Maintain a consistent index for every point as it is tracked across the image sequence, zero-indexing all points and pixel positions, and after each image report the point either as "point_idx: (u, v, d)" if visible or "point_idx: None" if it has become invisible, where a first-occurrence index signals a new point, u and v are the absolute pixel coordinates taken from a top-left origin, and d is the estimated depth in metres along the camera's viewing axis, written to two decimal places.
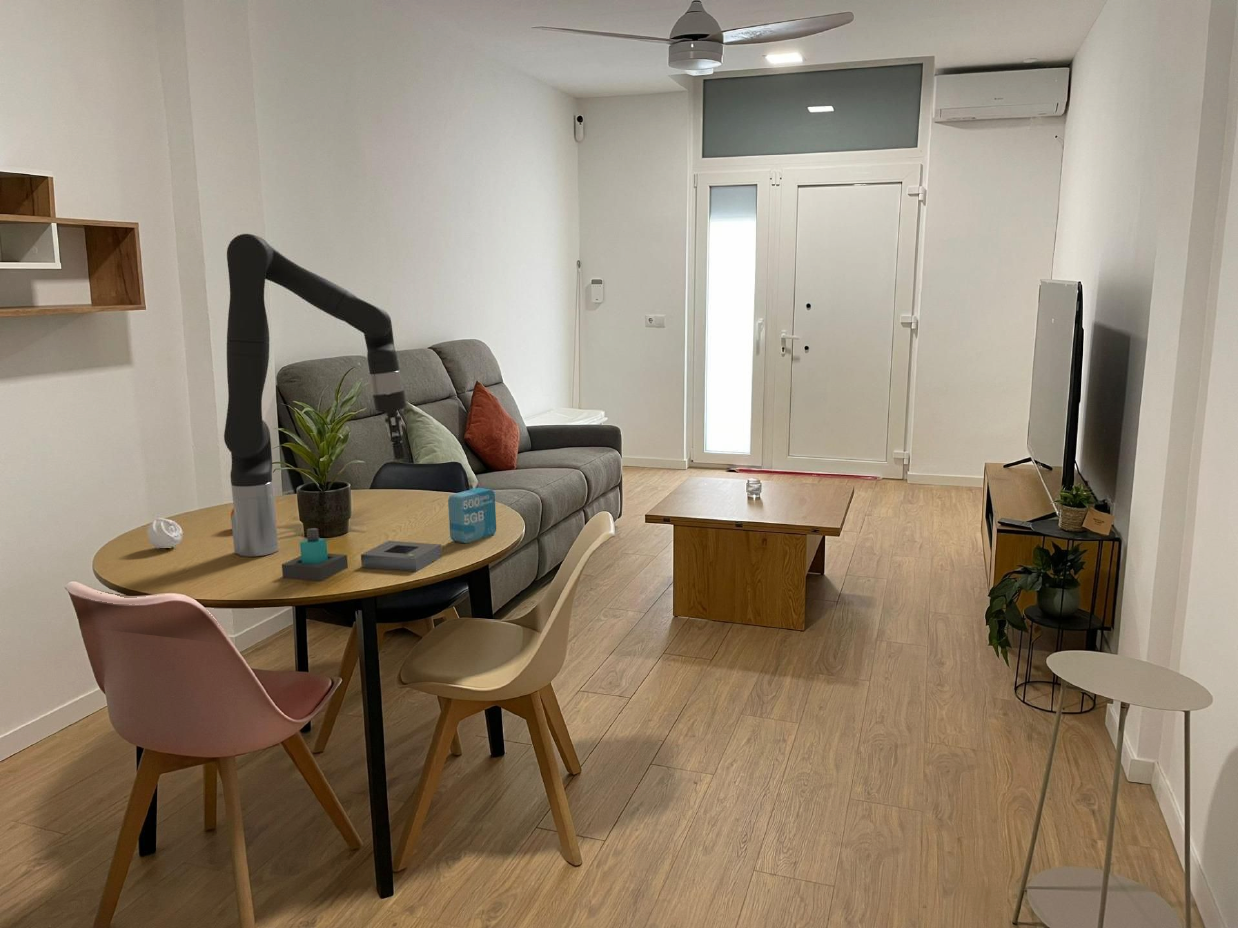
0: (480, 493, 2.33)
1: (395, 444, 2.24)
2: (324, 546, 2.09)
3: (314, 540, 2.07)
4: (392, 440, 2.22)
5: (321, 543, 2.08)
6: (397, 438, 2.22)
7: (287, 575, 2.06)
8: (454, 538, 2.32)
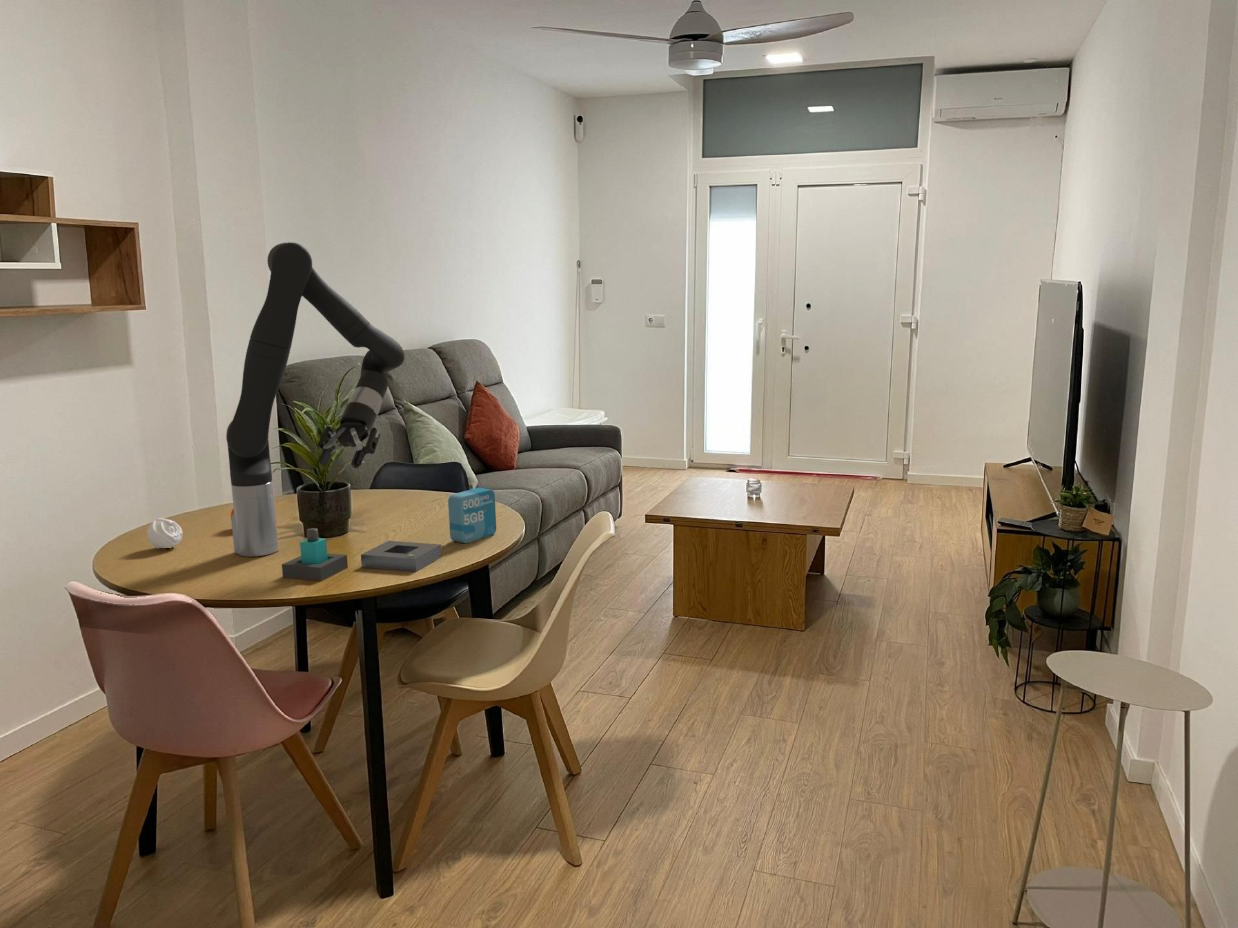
0: (480, 493, 2.33)
1: (363, 452, 2.17)
2: (324, 546, 2.09)
3: (314, 540, 2.07)
4: (370, 446, 2.16)
5: (321, 543, 2.08)
6: (372, 448, 2.17)
7: (287, 575, 2.06)
8: (454, 538, 2.32)
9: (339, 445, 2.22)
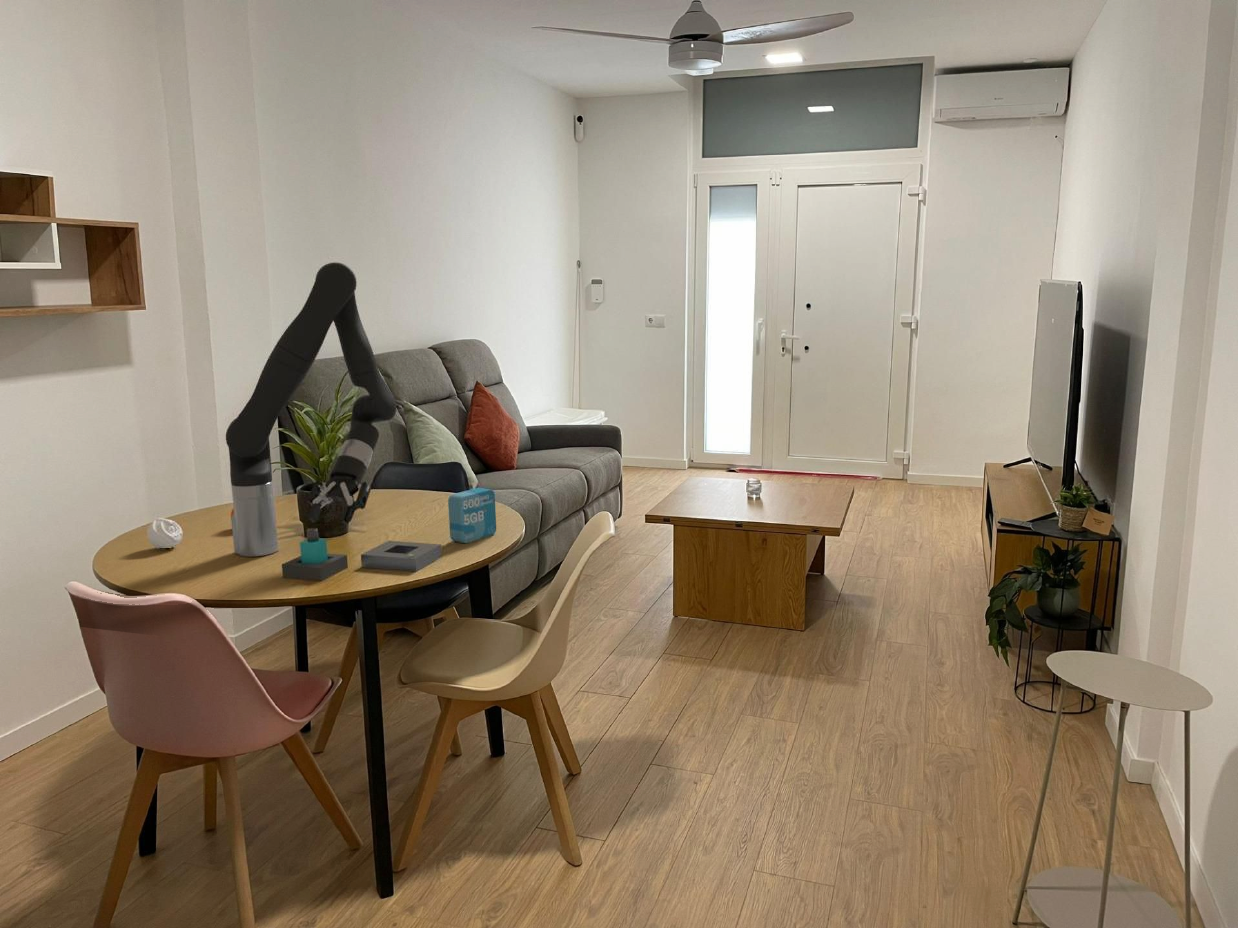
0: (480, 493, 2.33)
1: (353, 507, 2.13)
2: (324, 546, 2.09)
3: (314, 540, 2.07)
4: (360, 502, 2.13)
5: (321, 543, 2.08)
6: (363, 504, 2.14)
7: (287, 575, 2.06)
8: (454, 538, 2.32)
9: (329, 499, 2.19)
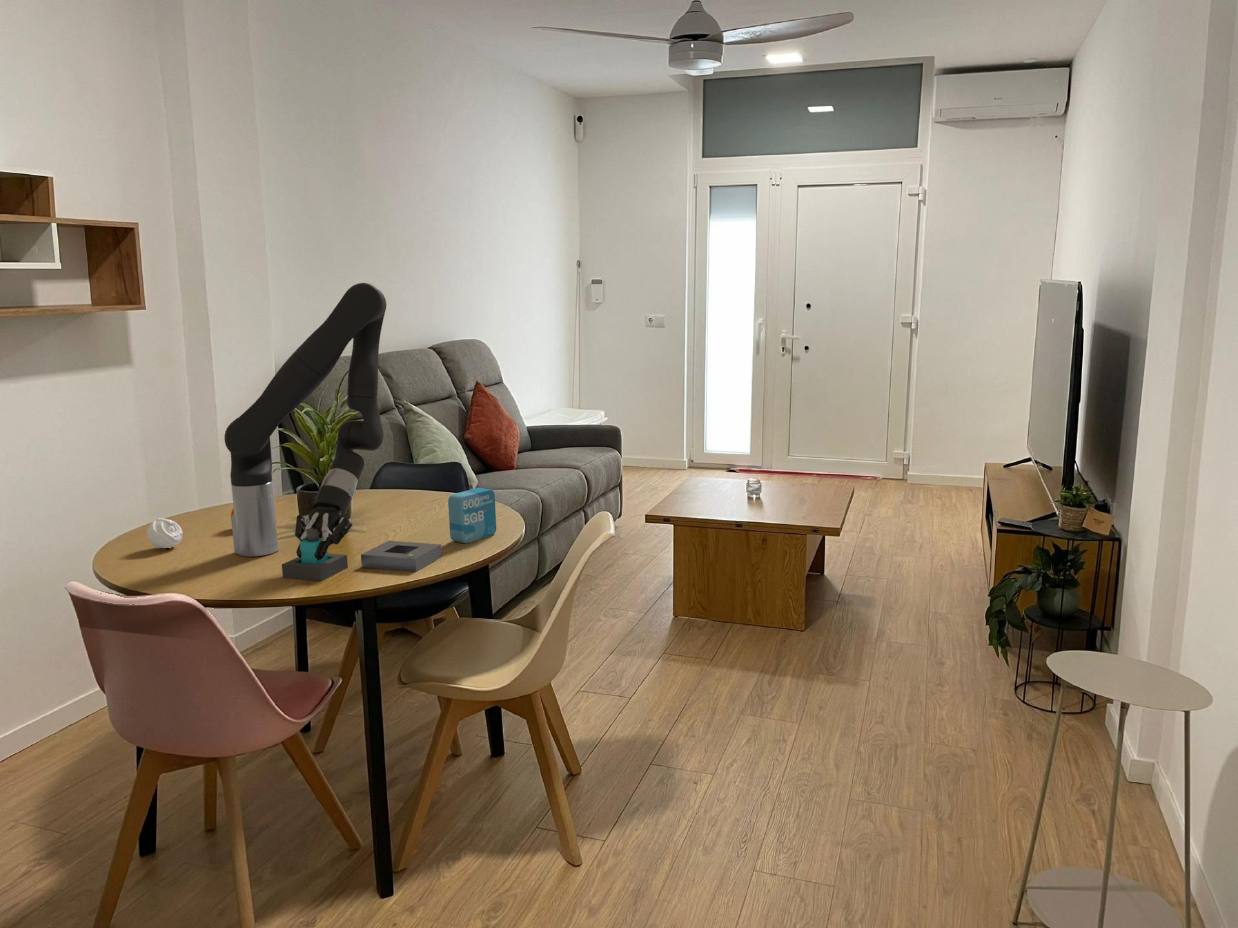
0: (480, 493, 2.33)
1: (326, 543, 2.08)
2: None
3: (314, 540, 2.07)
4: (333, 538, 2.08)
5: None
6: (337, 539, 2.09)
7: (287, 575, 2.06)
8: (454, 538, 2.32)
9: None
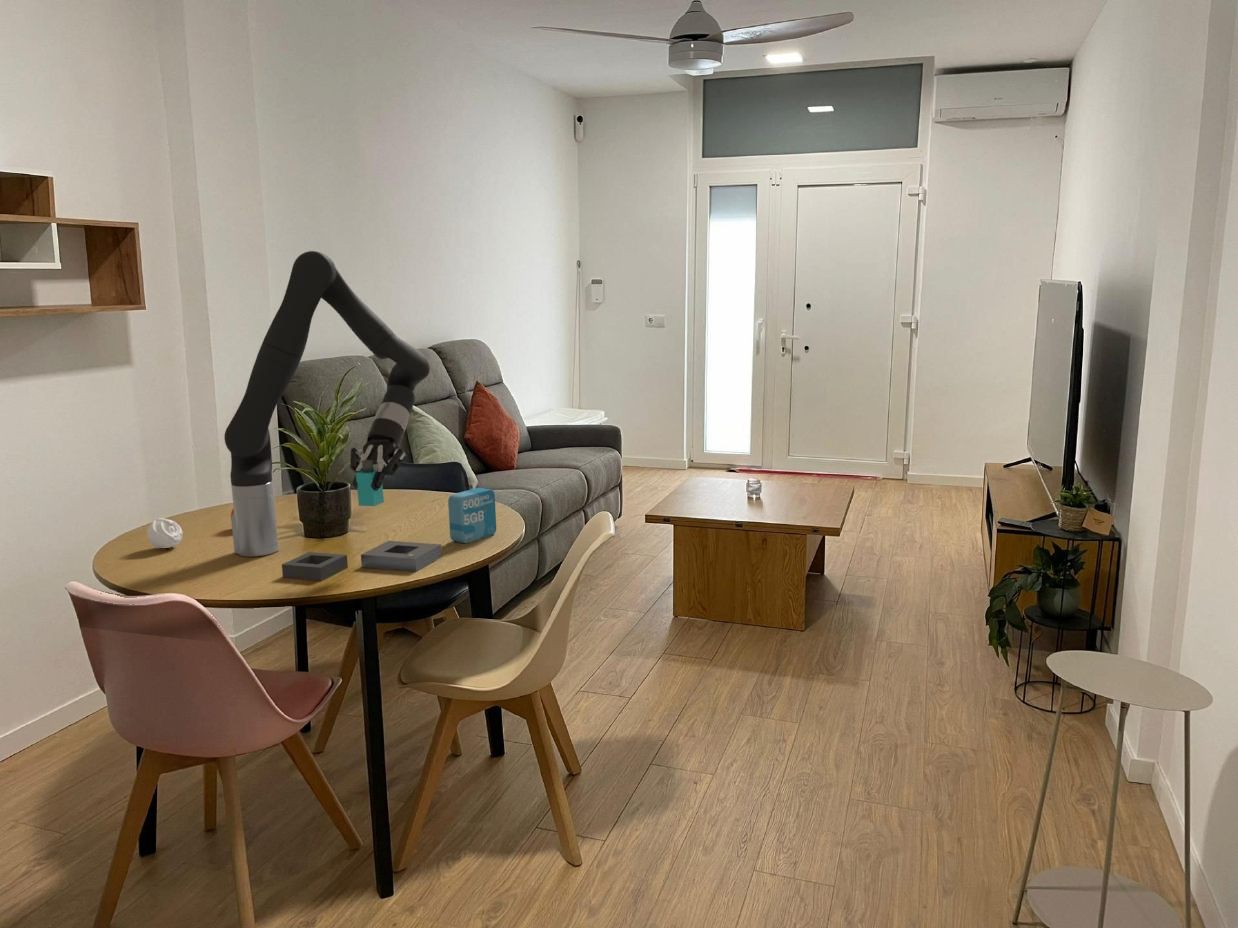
0: (480, 493, 2.33)
1: (382, 474, 2.10)
2: None
3: (369, 471, 2.09)
4: (389, 468, 2.09)
5: None
6: (392, 470, 2.10)
7: (287, 575, 2.06)
8: (454, 538, 2.32)
9: None
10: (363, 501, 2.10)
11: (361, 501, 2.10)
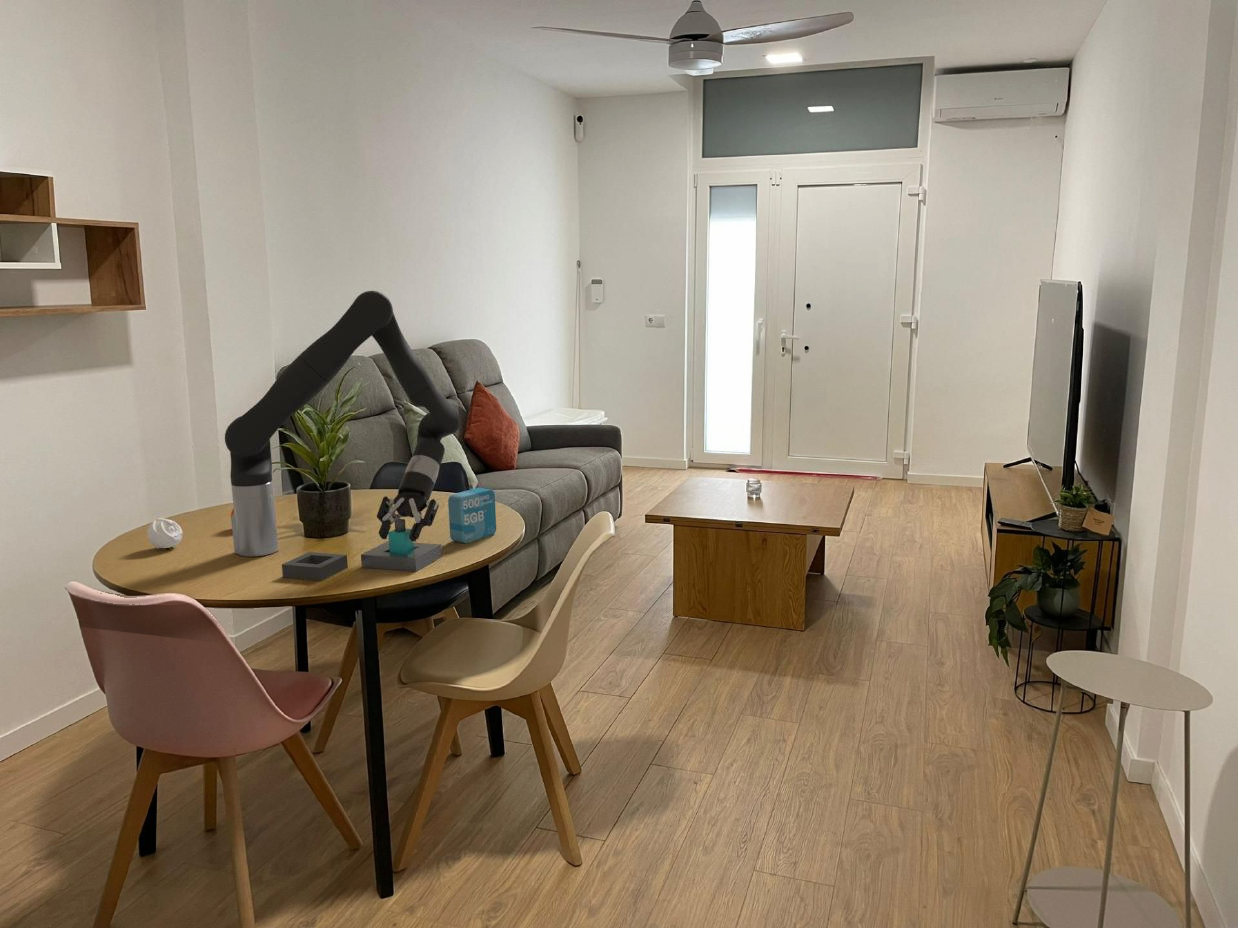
0: (480, 493, 2.33)
1: (420, 525, 2.14)
2: None
3: (402, 530, 2.14)
4: (428, 519, 2.14)
5: (409, 534, 2.15)
6: (430, 521, 2.15)
7: (287, 575, 2.06)
8: (454, 538, 2.32)
9: (398, 515, 2.19)
10: None
11: None
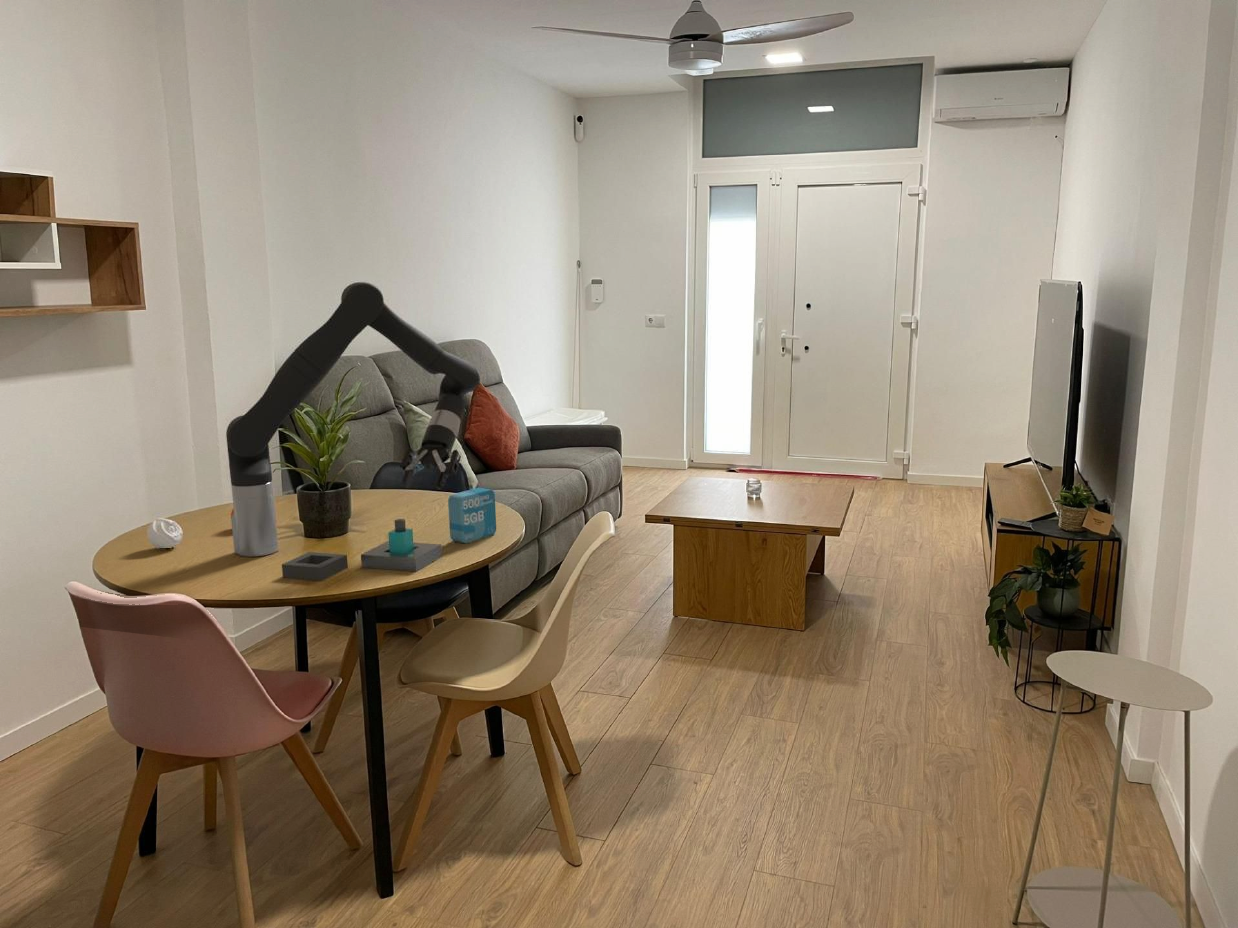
0: (480, 493, 2.33)
1: (445, 474, 2.24)
2: (411, 536, 2.16)
3: (402, 530, 2.14)
4: (452, 468, 2.23)
5: (409, 534, 2.15)
6: (454, 470, 2.25)
7: (287, 575, 2.06)
8: (454, 538, 2.32)
9: (420, 466, 2.29)
10: None
11: None
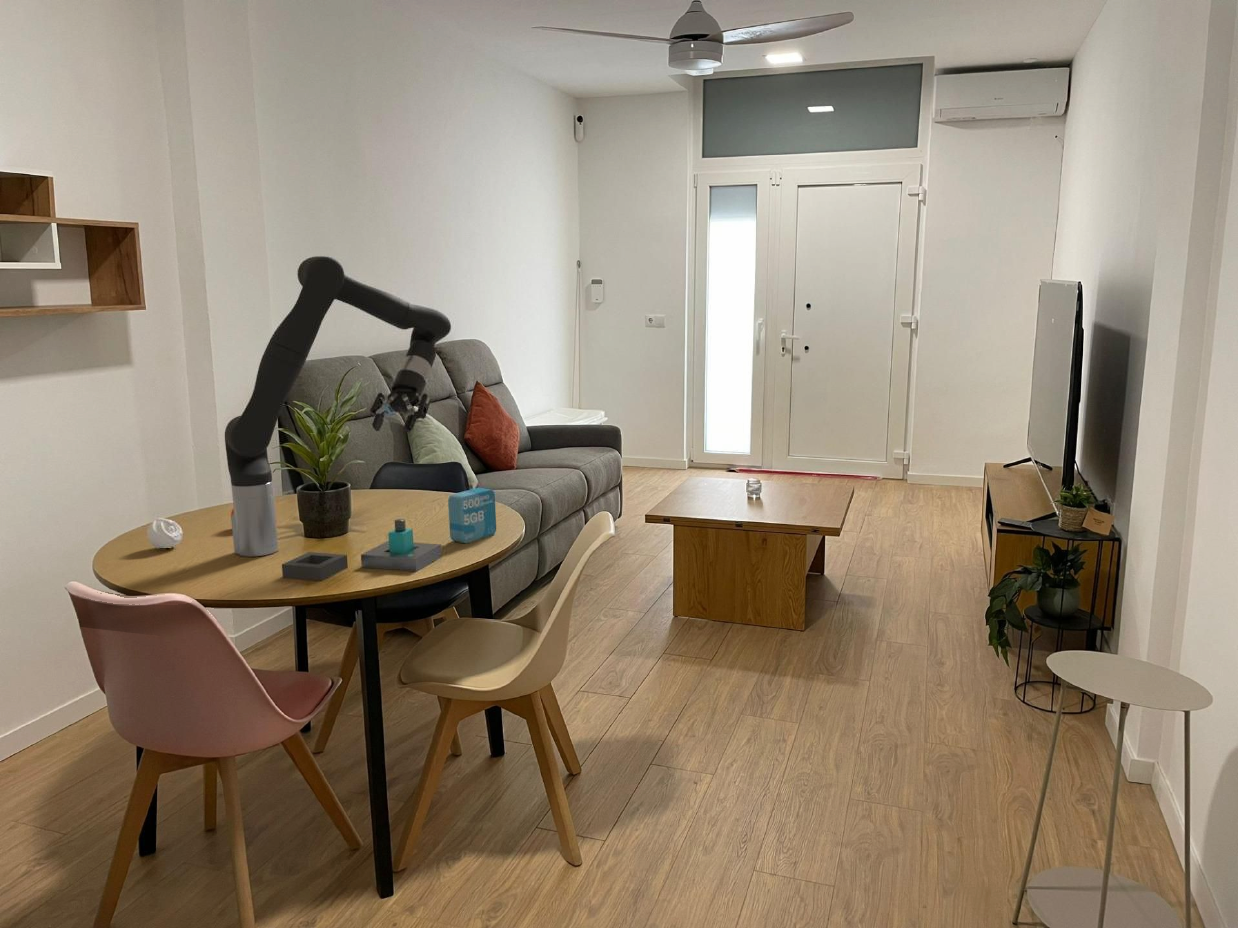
0: (480, 493, 2.33)
1: (414, 417, 2.27)
2: (411, 536, 2.16)
3: (402, 530, 2.14)
4: (421, 411, 2.26)
5: (409, 534, 2.15)
6: (423, 413, 2.28)
7: (287, 575, 2.06)
8: (454, 538, 2.32)
9: (391, 411, 2.32)
10: None
11: None
